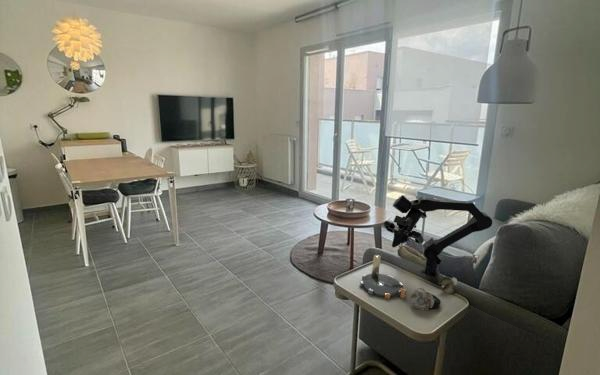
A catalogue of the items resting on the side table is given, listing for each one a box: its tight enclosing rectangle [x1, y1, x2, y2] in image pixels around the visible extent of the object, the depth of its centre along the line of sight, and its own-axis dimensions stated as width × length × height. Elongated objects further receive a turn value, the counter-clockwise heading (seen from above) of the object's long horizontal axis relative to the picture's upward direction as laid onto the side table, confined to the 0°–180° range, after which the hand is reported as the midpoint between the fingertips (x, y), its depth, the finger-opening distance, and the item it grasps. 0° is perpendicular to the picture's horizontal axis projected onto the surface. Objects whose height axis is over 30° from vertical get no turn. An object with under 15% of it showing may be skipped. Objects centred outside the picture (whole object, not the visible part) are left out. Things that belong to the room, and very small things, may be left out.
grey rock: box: [409, 287, 442, 312], centre depth 125 cm, size 7×11×10 cm
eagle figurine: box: [438, 273, 458, 295], centre depth 137 cm, size 8×7×9 cm
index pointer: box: [399, 288, 408, 299], centre depth 129 cm, size 2×2×4 cm
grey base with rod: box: [359, 254, 404, 300], centre depth 135 cm, size 17×17×11 cm
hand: (392, 246), depth 145 cm, fingers closed
